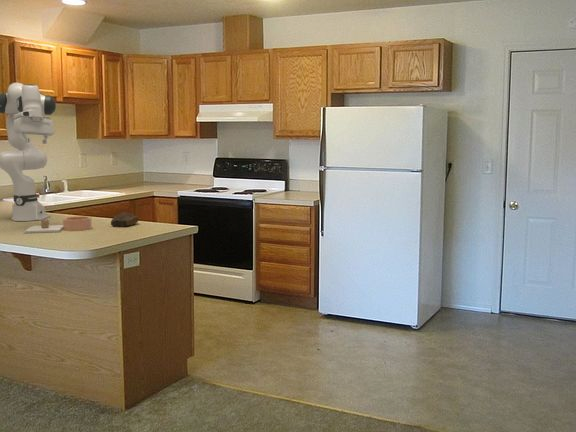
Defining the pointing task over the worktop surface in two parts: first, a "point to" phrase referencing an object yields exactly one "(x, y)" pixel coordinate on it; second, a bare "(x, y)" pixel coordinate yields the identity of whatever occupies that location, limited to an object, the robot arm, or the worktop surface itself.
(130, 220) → the stone
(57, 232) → the mat
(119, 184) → the worktop surface
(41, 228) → the white square lid
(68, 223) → the bowl
